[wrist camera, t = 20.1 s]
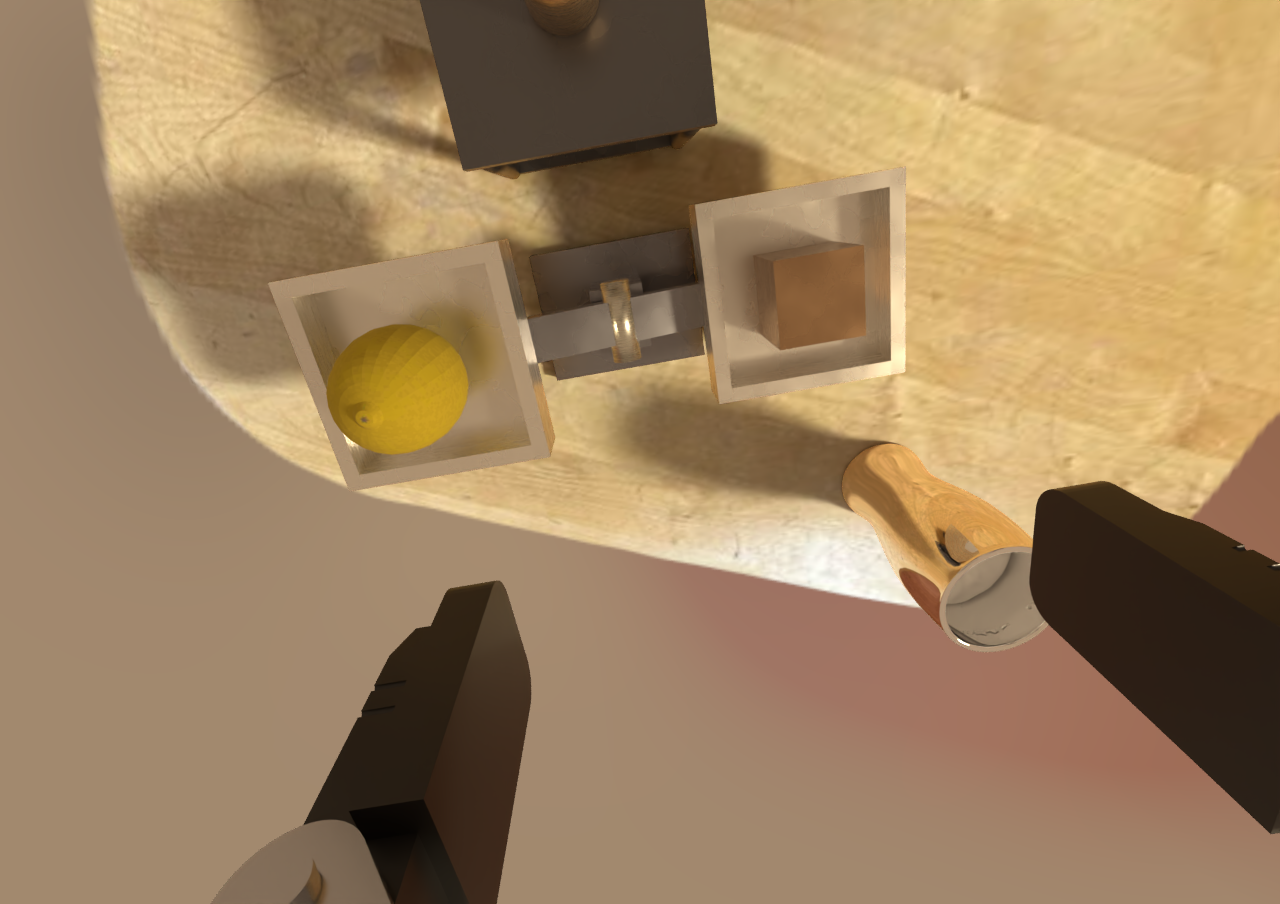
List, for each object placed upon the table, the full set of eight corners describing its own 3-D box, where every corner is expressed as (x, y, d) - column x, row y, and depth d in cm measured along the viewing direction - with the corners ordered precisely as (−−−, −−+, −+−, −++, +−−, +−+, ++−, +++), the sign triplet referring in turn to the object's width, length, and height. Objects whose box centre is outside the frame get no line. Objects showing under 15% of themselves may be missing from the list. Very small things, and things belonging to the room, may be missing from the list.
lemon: (382, 411, 31) (302, 477, 24) (371, 305, 29) (279, 343, 22) (487, 419, 31) (439, 488, 24) (484, 314, 29) (431, 355, 22)
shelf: (365, 263, 37) (267, 282, 27) (849, 175, 36) (944, 160, 26) (416, 420, 41) (349, 491, 31) (854, 344, 40) (938, 390, 30)
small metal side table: (452, -45, 32) (295, -297, 16) (659, -85, 31) (704, -381, 16) (505, 182, 36) (421, 157, 20) (688, 149, 35) (746, 97, 20)
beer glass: (818, 504, 45) (910, 634, 31) (864, 423, 43) (986, 525, 29) (896, 533, 46) (1018, 670, 32) (945, 456, 44) (1099, 568, 30)
